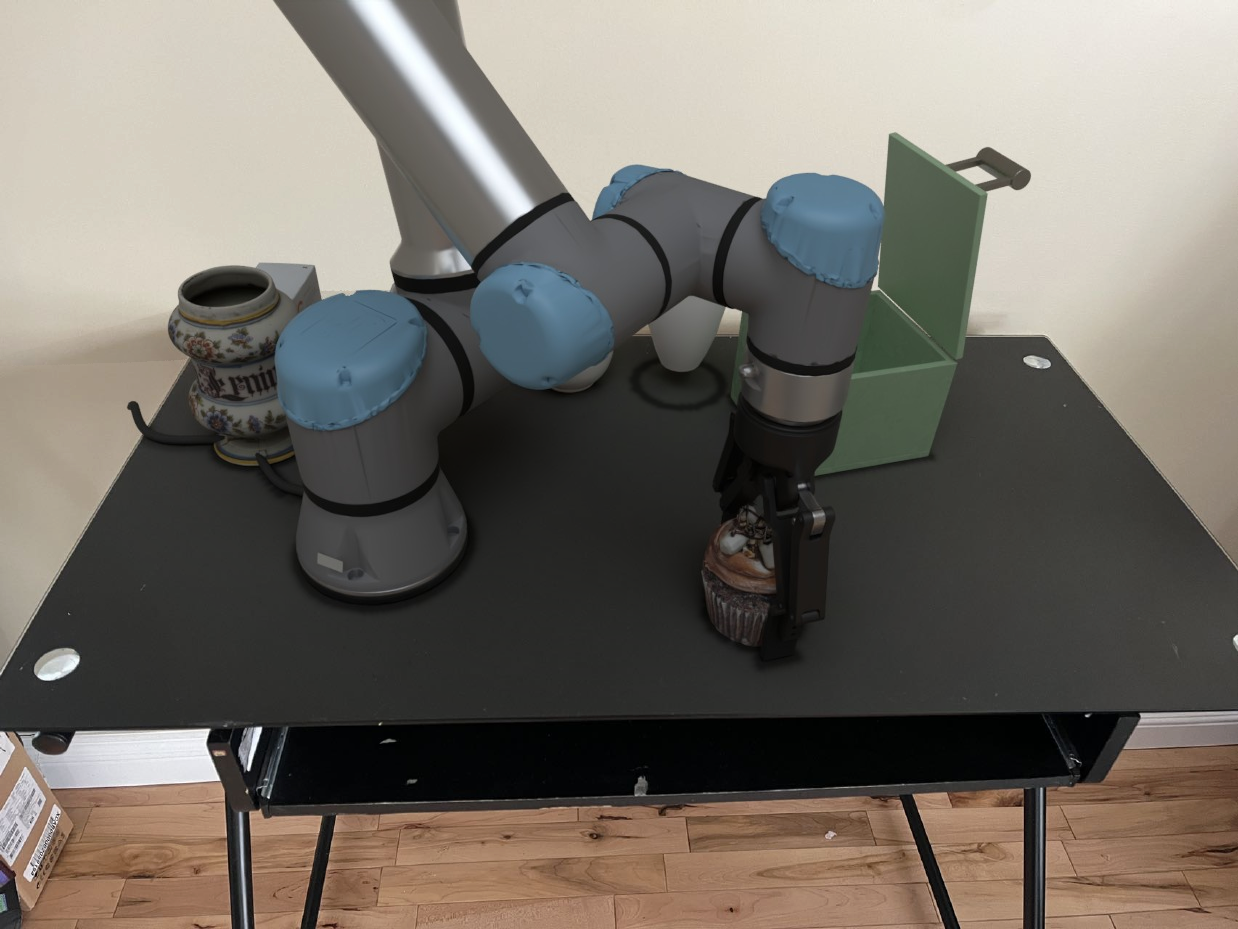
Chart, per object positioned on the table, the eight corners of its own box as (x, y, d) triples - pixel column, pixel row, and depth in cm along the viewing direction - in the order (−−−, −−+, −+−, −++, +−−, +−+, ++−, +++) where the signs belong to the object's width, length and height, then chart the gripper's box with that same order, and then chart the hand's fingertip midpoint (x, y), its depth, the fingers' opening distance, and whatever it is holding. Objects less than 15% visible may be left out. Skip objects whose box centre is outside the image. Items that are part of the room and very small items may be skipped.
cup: (615, 378, 107) (622, 203, 93) (677, 349, 112) (692, 179, 99) (678, 418, 101) (695, 238, 87) (740, 385, 107) (765, 211, 93)
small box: (282, 361, 107) (258, 260, 99) (336, 364, 107) (316, 263, 99) (258, 401, 101) (231, 296, 93) (315, 403, 101) (293, 299, 93)
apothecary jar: (291, 481, 90) (252, 324, 79) (180, 464, 92) (125, 307, 81) (342, 412, 100) (313, 262, 88) (240, 398, 101) (198, 249, 90)
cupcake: (688, 642, 76) (698, 557, 70) (706, 562, 84) (717, 479, 77) (802, 665, 75) (823, 581, 68) (810, 582, 82) (830, 499, 76)
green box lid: (980, 195, 78) (1070, 171, 79) (888, 133, 90) (968, 113, 91) (955, 360, 89) (1034, 337, 91) (877, 286, 101) (948, 267, 102)
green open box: (787, 480, 93) (805, 385, 86) (730, 396, 105) (742, 306, 97) (928, 456, 97) (958, 363, 90) (858, 377, 109) (879, 289, 101)
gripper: (688, 327, 72) (669, 531, 86) (812, 507, 56) (764, 723, 70) (774, 316, 74) (742, 518, 88) (919, 487, 58) (851, 702, 72)
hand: (752, 609), depth 79 cm, fingers closed on cupcake, 10 cm apart
